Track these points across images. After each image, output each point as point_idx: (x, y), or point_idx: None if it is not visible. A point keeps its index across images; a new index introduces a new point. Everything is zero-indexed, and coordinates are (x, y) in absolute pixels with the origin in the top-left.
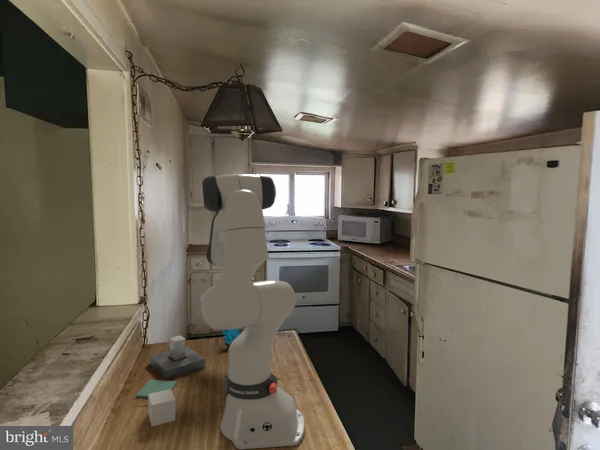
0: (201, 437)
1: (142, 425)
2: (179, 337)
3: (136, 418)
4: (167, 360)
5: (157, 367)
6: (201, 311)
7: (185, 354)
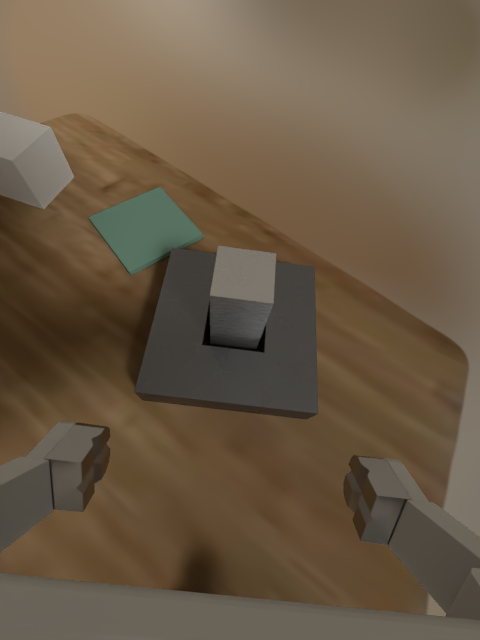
0: None
1: None
2: (249, 286)
3: (84, 160)
4: None
5: None
6: (372, 484)
7: (236, 357)
